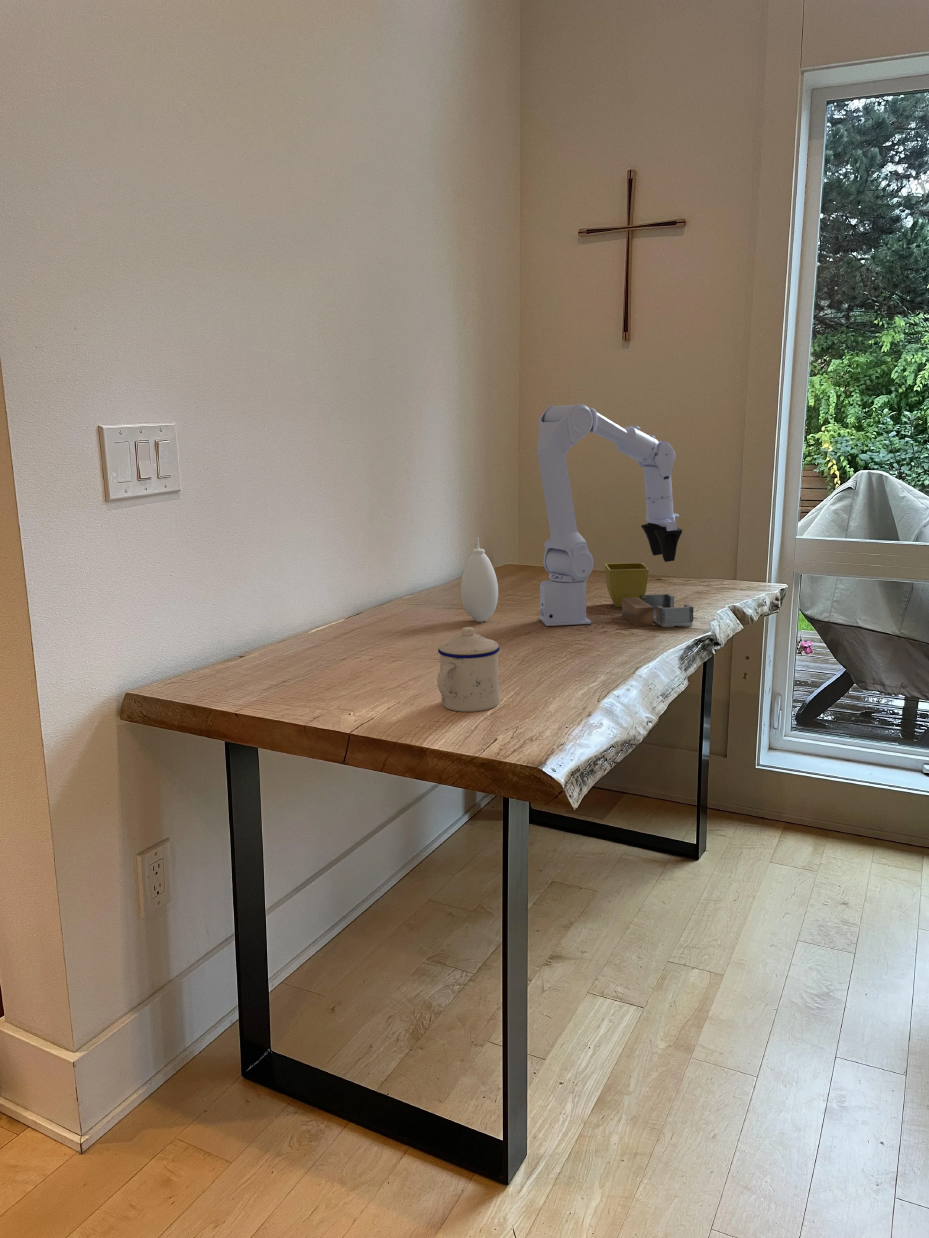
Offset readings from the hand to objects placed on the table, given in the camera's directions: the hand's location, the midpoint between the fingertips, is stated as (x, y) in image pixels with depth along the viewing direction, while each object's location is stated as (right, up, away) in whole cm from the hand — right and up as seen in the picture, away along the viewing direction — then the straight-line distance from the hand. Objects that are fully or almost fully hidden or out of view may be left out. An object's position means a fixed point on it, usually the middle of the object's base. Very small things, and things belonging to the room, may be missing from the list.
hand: (663, 557), depth 206 cm
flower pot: (-8, -11, +4) cm, 14 cm away
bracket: (-2, -13, -12) cm, 18 cm away
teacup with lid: (-44, -27, -67) cm, 85 cm away
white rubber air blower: (-41, -14, -8) cm, 44 cm away
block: (-8, -14, -12) cm, 20 cm away
